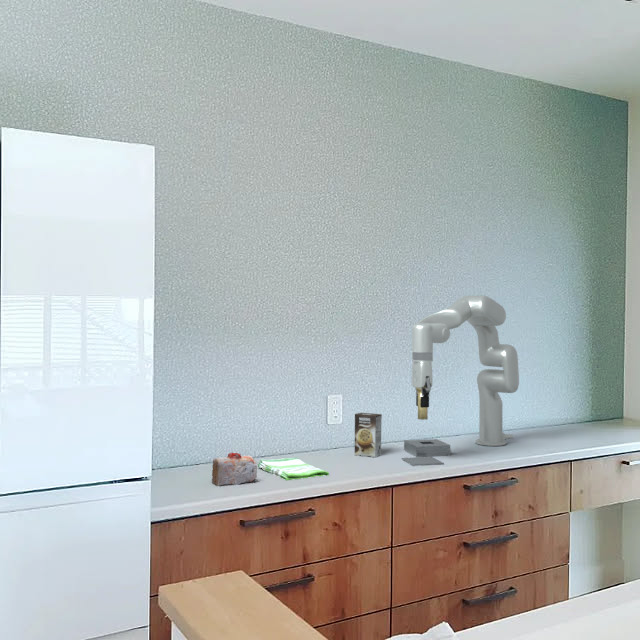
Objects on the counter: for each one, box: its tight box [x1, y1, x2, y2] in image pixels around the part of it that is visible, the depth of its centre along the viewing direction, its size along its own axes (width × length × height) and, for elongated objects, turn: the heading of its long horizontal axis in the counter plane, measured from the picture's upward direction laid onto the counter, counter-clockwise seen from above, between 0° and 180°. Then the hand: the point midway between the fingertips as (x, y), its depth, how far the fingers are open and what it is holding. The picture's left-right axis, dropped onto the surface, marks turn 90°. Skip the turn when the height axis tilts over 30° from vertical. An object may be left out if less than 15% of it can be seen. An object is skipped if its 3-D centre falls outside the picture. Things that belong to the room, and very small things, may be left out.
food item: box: [211, 452, 258, 487], centre depth 231 cm, size 14×8×10 cm, turn 118°
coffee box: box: [354, 412, 383, 458], centre depth 277 cm, size 9×6×16 cm
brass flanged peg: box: [415, 386, 429, 421], centre depth 264 cm, size 5×5×12 cm
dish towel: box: [257, 457, 330, 481], centre depth 248 cm, size 17×23×4 cm
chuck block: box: [403, 438, 451, 457], centre depth 282 cm, size 14×14×4 cm
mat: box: [401, 456, 445, 466], centre depth 264 cm, size 12×12×1 cm
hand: (422, 406), depth 264 cm, fingers closed on brass flanged peg, 3 cm apart
